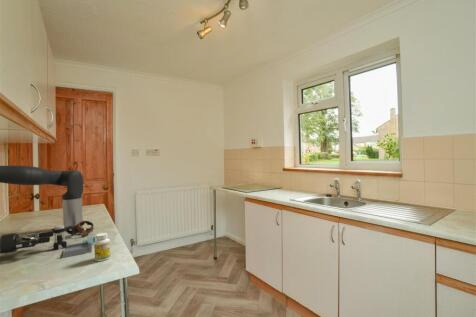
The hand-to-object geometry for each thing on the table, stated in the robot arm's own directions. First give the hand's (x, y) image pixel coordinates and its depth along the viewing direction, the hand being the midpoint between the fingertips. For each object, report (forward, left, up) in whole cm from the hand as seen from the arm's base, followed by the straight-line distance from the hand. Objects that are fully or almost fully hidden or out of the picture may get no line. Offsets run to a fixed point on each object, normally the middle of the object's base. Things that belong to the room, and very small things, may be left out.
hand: (51, 236), depth 106 cm
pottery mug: (-17, +9, -6) cm, 20 cm away
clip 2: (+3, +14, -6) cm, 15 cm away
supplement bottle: (+24, +19, -6) cm, 31 cm away
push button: (0, +2, -6) cm, 7 cm away
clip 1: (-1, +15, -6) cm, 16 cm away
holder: (+9, +10, -6) cm, 15 cm away
